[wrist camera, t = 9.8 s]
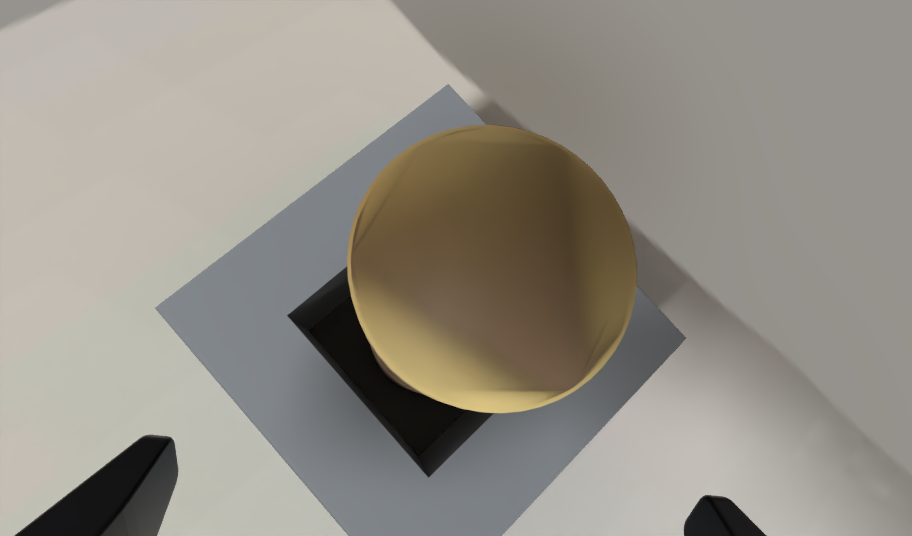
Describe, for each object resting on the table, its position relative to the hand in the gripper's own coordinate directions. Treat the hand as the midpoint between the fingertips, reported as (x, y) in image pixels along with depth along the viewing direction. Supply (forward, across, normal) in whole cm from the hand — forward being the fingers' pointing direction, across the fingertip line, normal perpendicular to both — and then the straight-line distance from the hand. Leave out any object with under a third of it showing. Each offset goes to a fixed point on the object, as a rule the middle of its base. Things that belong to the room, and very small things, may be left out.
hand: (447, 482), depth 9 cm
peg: (+10, 0, +5) cm, 11 cm away
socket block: (+10, 0, +5) cm, 11 cm away
